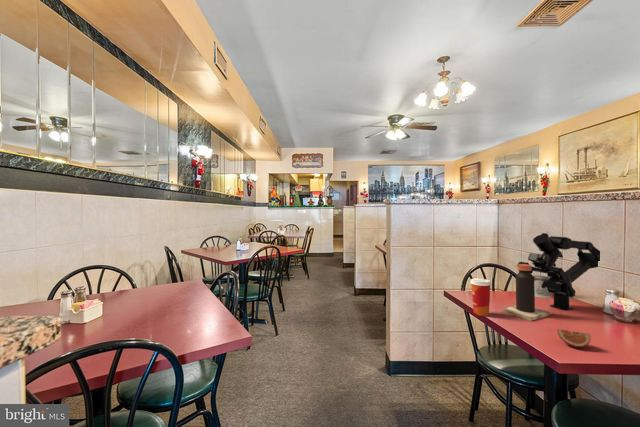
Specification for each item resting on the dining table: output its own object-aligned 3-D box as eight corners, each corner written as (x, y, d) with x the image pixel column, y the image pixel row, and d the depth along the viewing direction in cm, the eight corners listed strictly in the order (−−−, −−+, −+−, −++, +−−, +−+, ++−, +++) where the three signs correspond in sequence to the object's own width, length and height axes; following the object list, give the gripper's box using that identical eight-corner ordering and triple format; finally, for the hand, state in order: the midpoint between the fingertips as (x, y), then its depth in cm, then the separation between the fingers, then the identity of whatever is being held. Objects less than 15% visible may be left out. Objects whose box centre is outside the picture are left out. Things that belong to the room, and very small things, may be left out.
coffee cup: (474, 309, 134) (473, 277, 134) (494, 313, 129) (493, 279, 129) (467, 314, 129) (467, 280, 129) (488, 318, 123) (487, 283, 123)
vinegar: (513, 307, 132) (512, 263, 132) (530, 308, 131) (529, 263, 131) (520, 312, 126) (519, 266, 125) (538, 313, 124) (537, 266, 124)
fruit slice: (558, 346, 97) (558, 331, 97) (556, 339, 103) (556, 325, 103) (592, 352, 92) (591, 337, 92) (588, 344, 98) (588, 330, 98)
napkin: (520, 307, 136) (520, 304, 136) (549, 315, 126) (549, 311, 126) (501, 312, 130) (501, 308, 130) (530, 321, 119) (530, 317, 119)
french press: (525, 292, 160) (524, 247, 160) (547, 292, 159) (547, 247, 159) (536, 297, 151) (536, 249, 150) (560, 298, 149) (560, 249, 149)
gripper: (519, 244, 140) (502, 269, 136) (562, 249, 122) (544, 277, 118) (531, 259, 142) (515, 284, 139) (575, 266, 124) (558, 294, 121)
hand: (531, 285), depth 129 cm, fingers open, 9 cm apart
